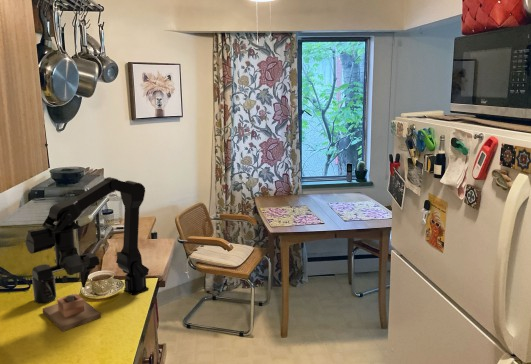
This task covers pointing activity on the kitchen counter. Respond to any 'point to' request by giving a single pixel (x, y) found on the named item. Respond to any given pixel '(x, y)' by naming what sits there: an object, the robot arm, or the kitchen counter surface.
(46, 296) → the supplement bottle
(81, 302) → the brown hollow square block
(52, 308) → the brown peg base
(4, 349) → the kitchen counter surface
